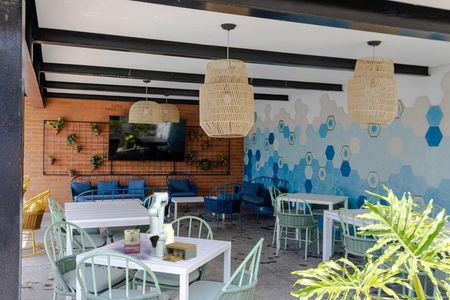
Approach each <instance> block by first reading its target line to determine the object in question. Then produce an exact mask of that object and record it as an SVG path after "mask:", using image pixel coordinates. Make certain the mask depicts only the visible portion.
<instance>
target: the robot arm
mask: <svg viewBox="0 0 450 300" xmlns="http://www.w3.org/2000/svg"><path fill="white" fill-rule="evenodd" d="M168 203H169V193H168V191H167V192H166V191H165V192H153V203H152V204H151V207H150V209H148V220H149V233H148V234H146V235H145V239H148V240H150V243H151V245H150V255H149V256H151V257H156V258H163V256H165V242H166V241H167V232H166V230H164V229H163V224H165V223H164V221H165V220H164V219H165V208H166V206H167V205H168Z"/></svg>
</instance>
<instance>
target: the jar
mask: <svg viewBox="0 0 450 300" xmlns="http://www.w3.org/2000/svg"><path fill="white" fill-rule="evenodd" d="M163 229H164V230H166V232H167V241H166V242H165V245H167V244H170V243H173V242H175V230H174V229H173V224H172V223H163Z"/></svg>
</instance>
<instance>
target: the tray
mask: <svg viewBox="0 0 450 300" xmlns="http://www.w3.org/2000/svg"><path fill="white" fill-rule="evenodd" d="M181 260H185V253H184V250H179V249H173V253H171V254H168V255H165V256H162V261H167V262H173V263H176V262H178V261H181Z"/></svg>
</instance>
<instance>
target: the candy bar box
mask: <svg viewBox="0 0 450 300" xmlns="http://www.w3.org/2000/svg"><path fill="white" fill-rule="evenodd" d="M123 238H124V239H123V240H124V241H123V242H124V243H123V246H124V247H123V249H124V250H123V251H124V255H126V254H127V255H129V254H140V253H141V229H139V228H138V229H135V228H134V229H124V231H123Z"/></svg>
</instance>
